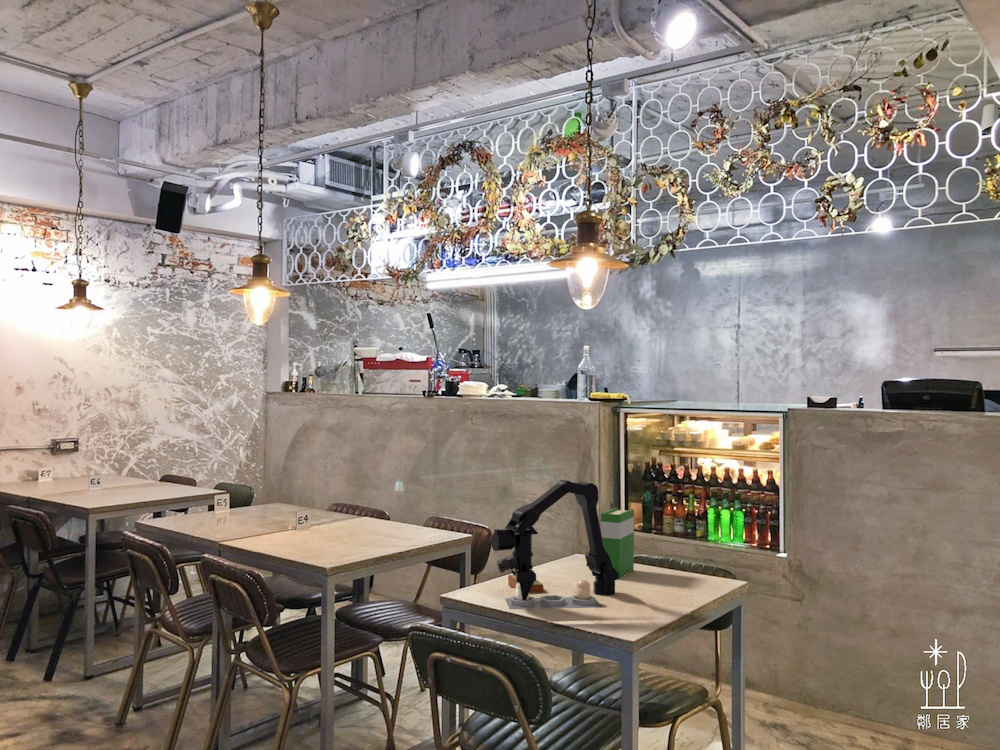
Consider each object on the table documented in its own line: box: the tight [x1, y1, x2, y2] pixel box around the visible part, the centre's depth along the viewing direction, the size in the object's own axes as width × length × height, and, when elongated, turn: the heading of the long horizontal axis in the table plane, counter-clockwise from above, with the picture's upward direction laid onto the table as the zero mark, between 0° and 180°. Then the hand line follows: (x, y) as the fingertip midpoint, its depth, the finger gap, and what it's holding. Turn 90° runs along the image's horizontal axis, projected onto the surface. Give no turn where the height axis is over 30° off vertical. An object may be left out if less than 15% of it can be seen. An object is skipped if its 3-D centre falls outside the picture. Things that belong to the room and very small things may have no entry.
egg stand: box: [504, 594, 603, 610], centre depth 253 cm, size 30×13×2 cm, turn 96°
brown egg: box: [575, 579, 591, 600], centre depth 254 cm, size 4×4×7 cm
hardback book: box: [600, 507, 635, 580], centre depth 301 cm, size 18×7×24 cm, turn 153°
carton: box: [507, 574, 544, 594], centre depth 274 cm, size 8×16×4 cm, turn 15°
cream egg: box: [515, 583, 530, 601], centre depth 252 cm, size 4×4×7 cm
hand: (522, 596), depth 252 cm, fingers open, 7 cm apart
